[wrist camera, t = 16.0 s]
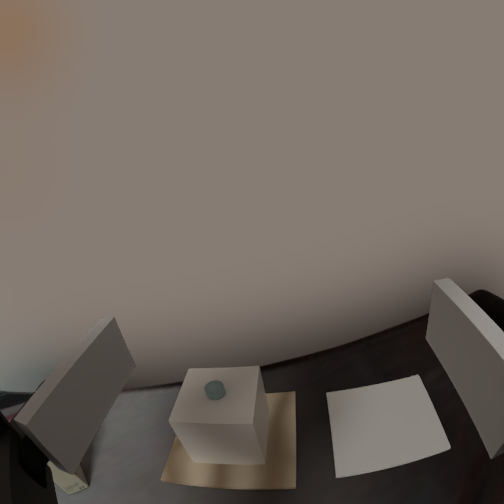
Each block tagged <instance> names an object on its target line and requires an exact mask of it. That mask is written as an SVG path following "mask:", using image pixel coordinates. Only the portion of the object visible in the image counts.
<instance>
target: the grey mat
mask: <svg viewBox="0 0 504 504" xmlns="http://www.w3.org/2000/svg"><path fill="white" fill-rule="evenodd" d="M326 395H327V403H328V410H329V418H330V426H331V435H332V444H333V453H334V463H335V474H336V478H341V477H347V476H353V475H359V474H364V473H369V472H374V471H378V470H383V469H387V468H391V467H395V466H399V465H403V464H406V463H410V462H413V461H416V460H420V459H423V458H426V457H429V456H432V455H435V454H438V453H441V452H443V451H446V450H449V449H450V448H451V447H450V444H449V442H448V439H447V437H446V434H445V432H444V430H443V427H442V425H441V422H440V420H439V418H438V416H437V413H436V411H435V409H434V407H433V404H432V402H431V400H430V398H429V396H428V393H427V391H426V389H425V387H424V385H423V383H422V381H421V379H420V377H419V375H415V376H412V377H407V378H403V379H399V380H395V381H390V382H386V383H381V384H376V385H371V386H366V387H360V388H354V389H348V390H342V391H335V392H328V393H326Z"/></svg>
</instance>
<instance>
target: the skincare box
mask: <svg viewBox="0 0 504 504" xmlns="http://www.w3.org/2000/svg"><path fill="white" fill-rule="evenodd" d="M47 465H48V466H49V467H50V468H51V471H52V476H53V481H54V482H55V483H56V484H57V485H58V486H59V487H61V488H62V489H63V490H64V491H65V492H66V493H68V494H69V495H70V494H73V493H75V492H78V491H80V490H82V489H85V488H87V487H88V483H87V480H86V478H85V475H84V473H83V470H82V468H81V466H80V464H79V465H78V467H77V469H76V471H75V473H74V475H71V474H69V473H66V472H64V471H62V470H59V469H58V468H57V467H56V466H55V465H54V464H53V463H52V462H51V461H50V460H49V462H48V464H47Z"/></svg>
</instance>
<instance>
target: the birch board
mask: <svg viewBox="0 0 504 504" xmlns="http://www.w3.org/2000/svg"><path fill="white" fill-rule="evenodd" d="M266 398H267V403H268V407H269V425H268V439H267V452H266V464H260V465H240V464H214V463H200V462H193V460H192V459H191V457H190V456H189V454H188V453H187V451H186V449H185V448H184V446H183V445H182V443H181V442H180V440H179V438H178V437H177V435H176V437H175V440H174V443H173V446H172V449H171V451H170V454H169V457H168V460H167V463H166V466H165V469H164V472H163V475H162V478H161V480H162V481H164V482H170V483H176V484H183V485H191V486H199V487H209V488H221V489H241V490H278V489H296V399H295V391H292V392H281V393H267V394H266Z"/></svg>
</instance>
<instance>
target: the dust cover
mask: <svg viewBox="0 0 504 504" xmlns="http://www.w3.org/2000/svg"><path fill="white" fill-rule="evenodd" d="M168 422H169V423H170V425H171V427H172V428H173V430H174V432H175V433H176V435H177V437H178V438H179V440H180V442H181V443H182V445H183V446H184V448H185V449H186V451H187V453H188V454H189V456H190V457H191V459H192V460H193V462H200V463H214V464H240V465H260V464H266V452H267V439H268V425H269V407H268V403H267V398H266V394H265V389H264V385H263V380H262V376H261V371H260V366H248V367H228V368H194V369H192V368H191V369H188V372H187V375H186V377H185V380H184V382H183V385H182V387H181V390H180V392H179V395H178V397H177V400H176V402H175V405H174V408H173V410H172V413H171V415H170V418H169V420H168Z"/></svg>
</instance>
